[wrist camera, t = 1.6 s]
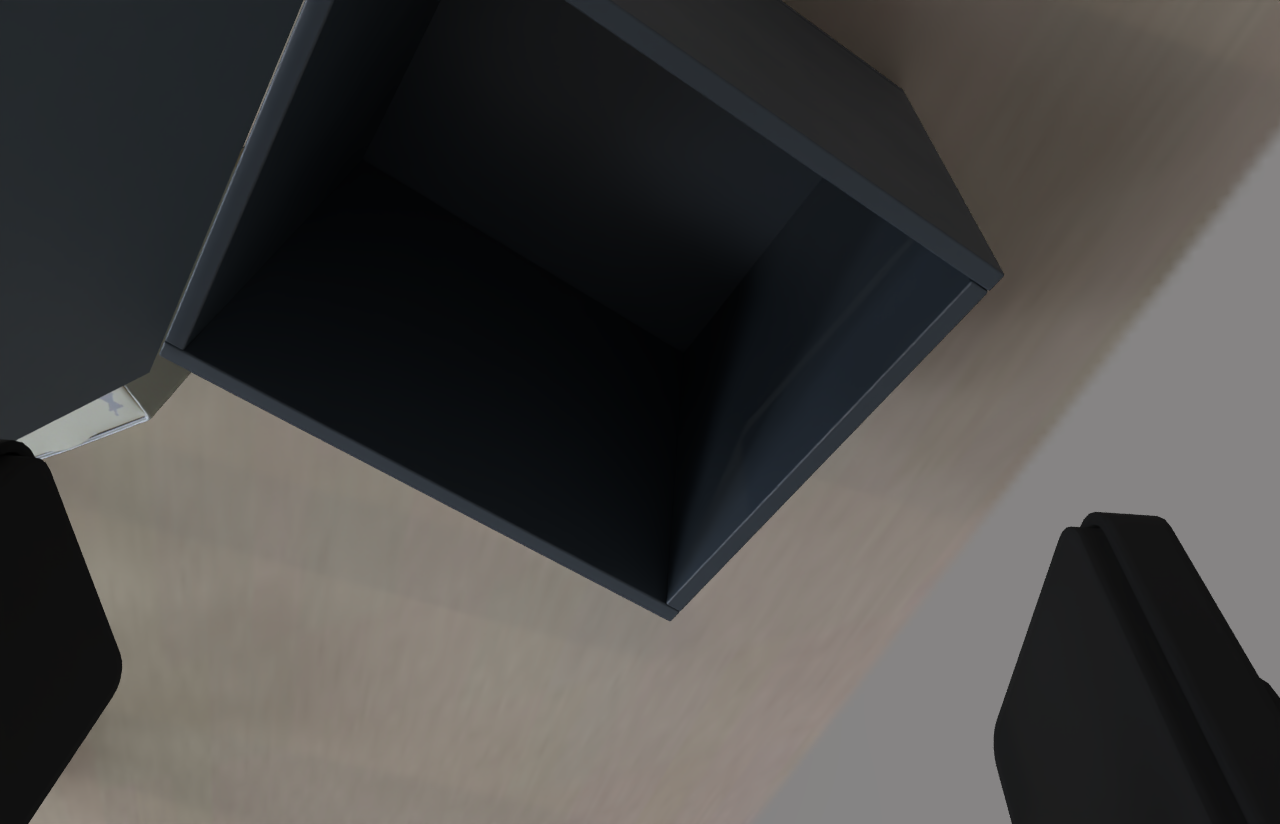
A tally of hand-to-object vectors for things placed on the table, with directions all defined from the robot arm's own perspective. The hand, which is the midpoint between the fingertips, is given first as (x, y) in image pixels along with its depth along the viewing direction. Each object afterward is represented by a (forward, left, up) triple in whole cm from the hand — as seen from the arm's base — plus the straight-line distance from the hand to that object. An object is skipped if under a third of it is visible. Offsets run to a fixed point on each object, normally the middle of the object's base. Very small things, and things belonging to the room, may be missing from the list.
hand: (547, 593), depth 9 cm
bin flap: (-8, -4, -9) cm, 12 cm away
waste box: (0, -4, -27) cm, 28 cm away
